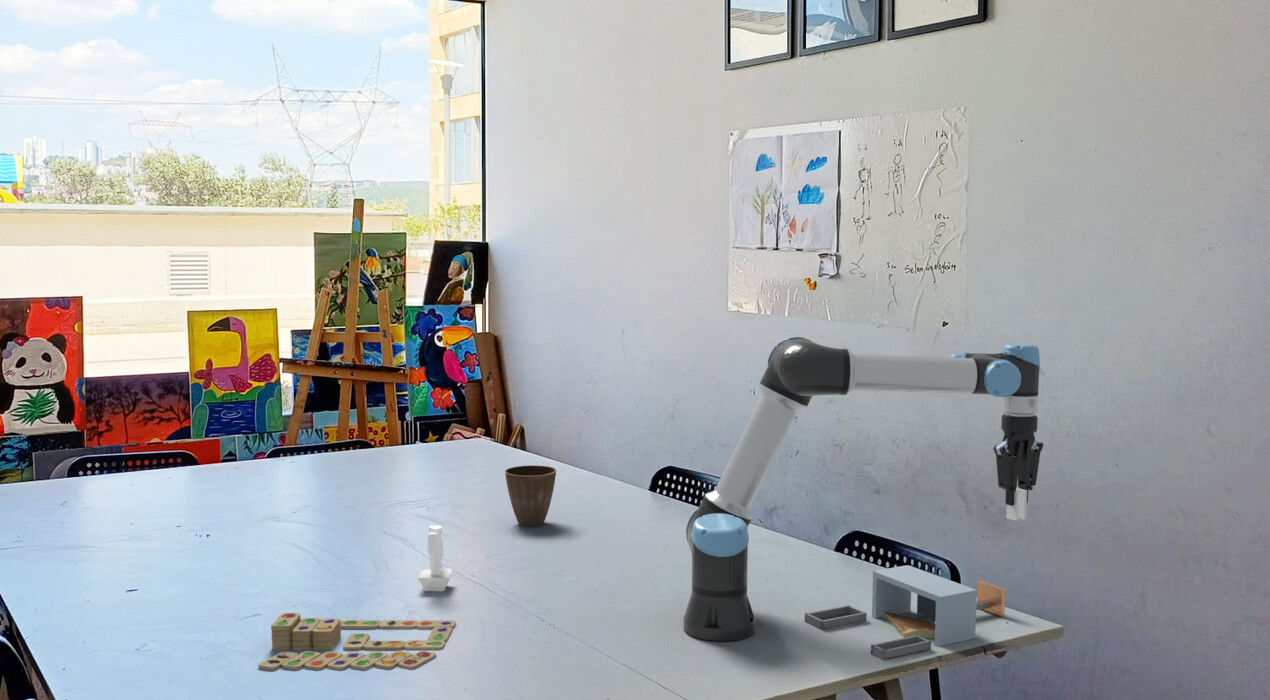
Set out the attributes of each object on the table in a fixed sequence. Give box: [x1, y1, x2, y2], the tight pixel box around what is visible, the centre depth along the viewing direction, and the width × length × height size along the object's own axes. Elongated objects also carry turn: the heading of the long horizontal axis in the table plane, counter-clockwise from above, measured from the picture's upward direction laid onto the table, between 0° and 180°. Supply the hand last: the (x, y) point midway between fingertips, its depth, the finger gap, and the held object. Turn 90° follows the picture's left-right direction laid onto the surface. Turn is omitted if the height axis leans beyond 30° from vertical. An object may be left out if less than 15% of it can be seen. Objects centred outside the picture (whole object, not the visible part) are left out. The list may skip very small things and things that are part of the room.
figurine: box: [417, 525, 454, 592], centre depth 256 cm, size 7×9×15 cm
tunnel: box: [871, 565, 978, 647], centre depth 231 cm, size 10×20×10 cm, turn 28°
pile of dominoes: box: [258, 612, 457, 672], centre depth 219 cm, size 35×27×6 cm
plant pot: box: [504, 464, 557, 528], centre depth 318 cm, size 15×15×16 cm
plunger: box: [916, 580, 1006, 622], centre depth 237 cm, size 16×14×6 cm
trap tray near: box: [870, 635, 932, 661], centre depth 217 cm, size 12×4×2 cm, turn 118°
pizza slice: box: [885, 612, 935, 639], centre depth 231 cm, size 13×9×2 cm
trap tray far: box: [804, 604, 868, 631], centre depth 235 cm, size 12×6×2 cm, turn 118°
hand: (1016, 518), depth 242 cm, fingers closed
